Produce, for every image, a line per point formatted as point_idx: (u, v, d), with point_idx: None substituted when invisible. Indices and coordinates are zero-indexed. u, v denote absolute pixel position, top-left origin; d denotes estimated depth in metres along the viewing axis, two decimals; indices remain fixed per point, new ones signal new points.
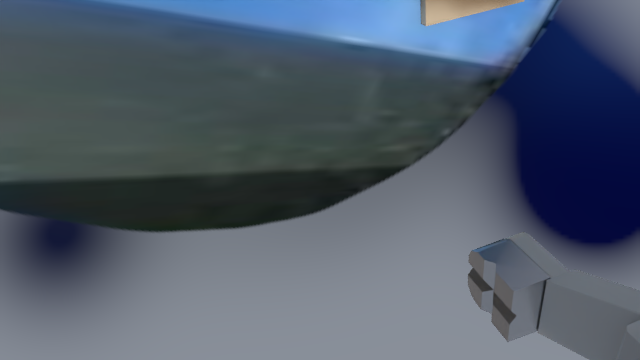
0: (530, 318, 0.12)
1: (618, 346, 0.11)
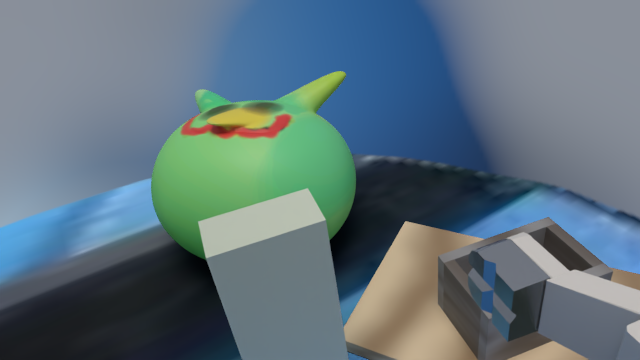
0: (530, 318, 0.12)
1: (618, 346, 0.11)
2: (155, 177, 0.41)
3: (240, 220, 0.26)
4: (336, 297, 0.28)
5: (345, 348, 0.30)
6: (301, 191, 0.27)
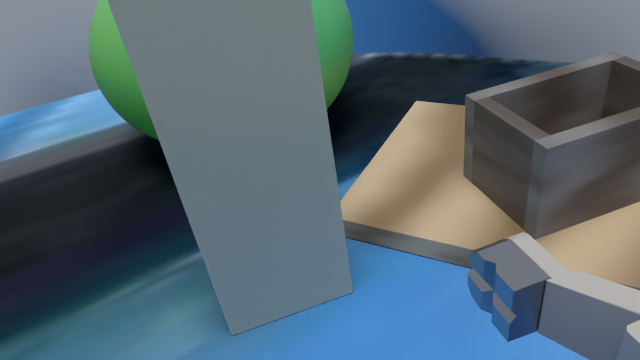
0: (530, 318, 0.12)
1: (618, 346, 0.11)
2: (91, 26, 0.32)
3: None
4: (321, 93, 0.18)
5: (337, 193, 0.21)
6: None
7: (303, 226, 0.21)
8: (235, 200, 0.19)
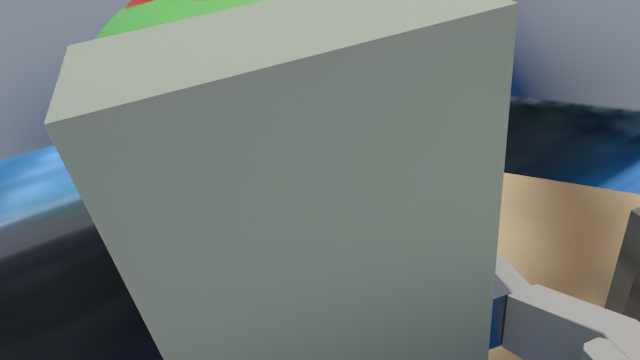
0: (493, 333, 0.12)
1: None
2: None
3: (205, 31, 0.07)
4: (488, 294, 0.10)
5: None
6: None
7: None
8: None
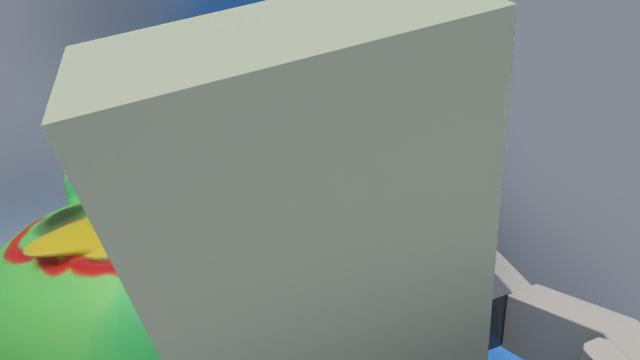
0: (493, 333, 0.12)
1: None
2: None
3: (203, 32, 0.07)
4: (487, 295, 0.10)
5: None
6: None
7: None
8: None
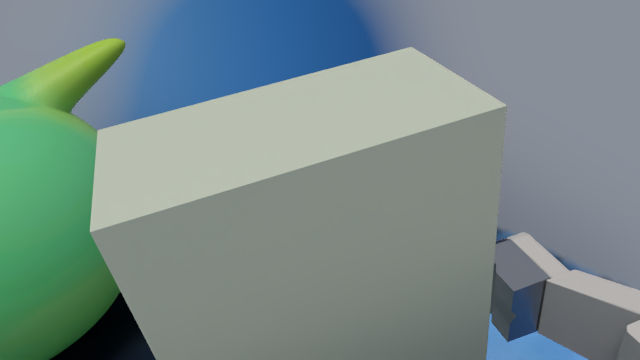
0: (530, 318, 0.12)
1: (618, 346, 0.11)
2: None
3: (224, 121, 0.08)
4: (482, 344, 0.10)
5: None
6: (393, 54, 0.10)
7: None
8: None
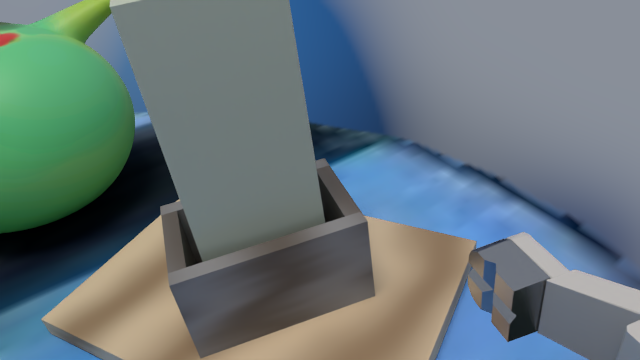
0: (530, 318, 0.12)
1: (618, 346, 0.11)
2: None
3: None
4: (304, 111, 0.21)
5: (319, 198, 0.23)
6: None
7: (289, 227, 0.24)
8: (229, 204, 0.22)
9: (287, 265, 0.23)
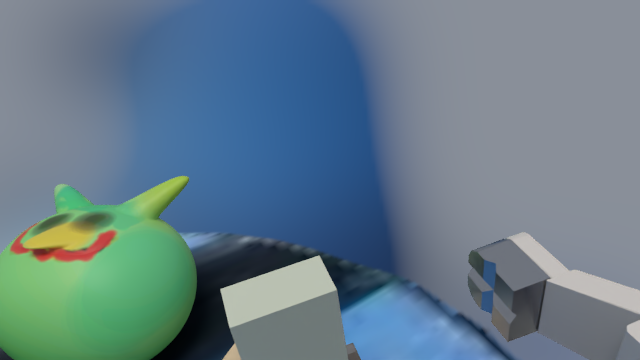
0: (530, 318, 0.12)
1: (618, 346, 0.11)
2: None
3: (259, 288, 0.28)
4: (345, 353, 0.30)
5: None
6: (313, 258, 0.30)
7: None
8: None
9: None
